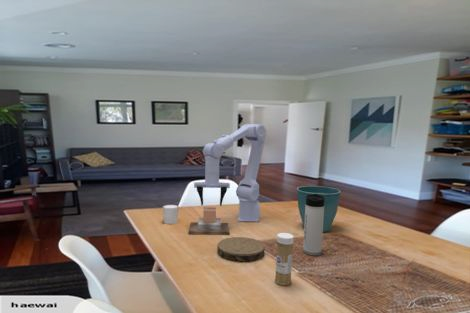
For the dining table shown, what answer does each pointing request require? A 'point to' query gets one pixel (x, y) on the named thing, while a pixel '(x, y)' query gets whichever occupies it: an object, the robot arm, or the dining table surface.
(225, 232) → the walnut base
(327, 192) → the flower pot
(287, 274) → the sprinkles bottle
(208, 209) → the terracotta block
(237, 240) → the wood slice coaster
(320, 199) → the travel mug
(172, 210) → the grey cup
